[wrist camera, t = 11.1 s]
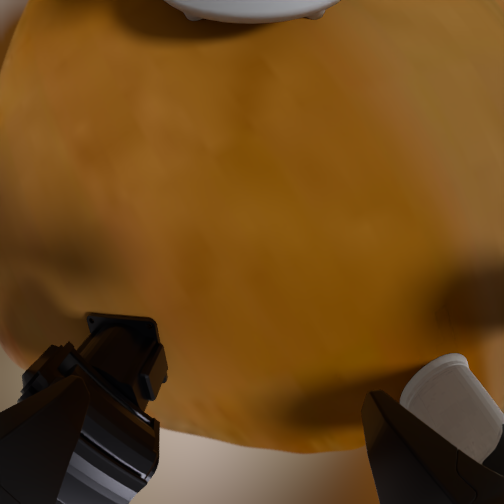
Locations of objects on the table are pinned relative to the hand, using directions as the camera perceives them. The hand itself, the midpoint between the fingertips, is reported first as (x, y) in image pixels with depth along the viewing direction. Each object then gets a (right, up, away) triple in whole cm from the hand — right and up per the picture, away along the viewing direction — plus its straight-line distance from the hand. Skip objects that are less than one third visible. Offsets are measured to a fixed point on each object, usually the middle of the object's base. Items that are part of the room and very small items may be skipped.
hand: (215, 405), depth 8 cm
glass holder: (+22, -11, +17) cm, 30 cm away
